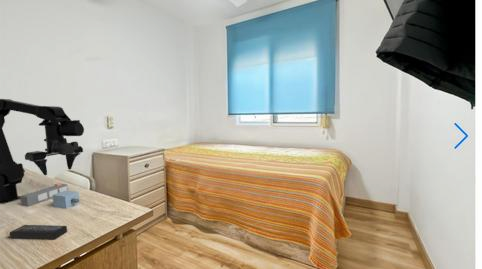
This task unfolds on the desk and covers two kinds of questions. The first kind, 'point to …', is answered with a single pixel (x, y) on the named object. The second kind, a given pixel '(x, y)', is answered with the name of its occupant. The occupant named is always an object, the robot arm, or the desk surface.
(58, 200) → the slate plug
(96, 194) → the desk surface
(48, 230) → the multiport hub
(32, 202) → the power strip
